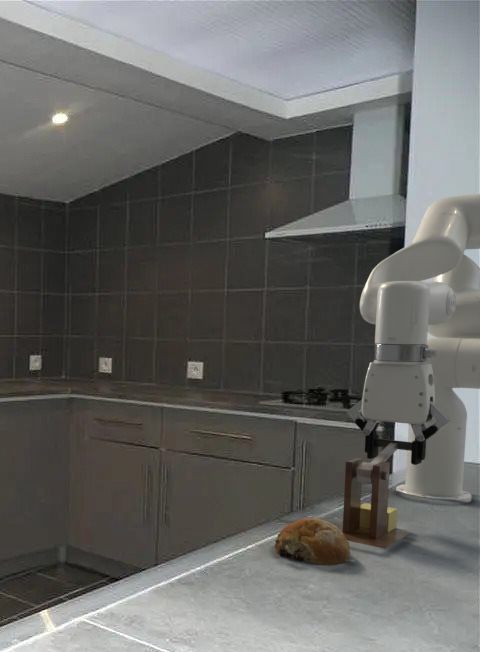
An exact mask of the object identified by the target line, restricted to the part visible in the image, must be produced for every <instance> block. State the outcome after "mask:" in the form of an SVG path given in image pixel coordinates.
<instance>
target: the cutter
mask: <svg viewBox="0 0 480 652" xmlns="http://www.w3.org/2000/svg"><path fill="white" fill-rule="evenodd" d="M362 462H364V459H363V458H360V457H355V458H352V459H349V460H346V461H345V470H344V472H345V473H344V495H343V512H342V513H343V514H342V521H340V522H338V523H336V524H334V525H335V526H337V528H338V529H340V530H341V532H342V533H343V534H344V536H345V538H346V539H347V541H348V542H352V543H357V544H362V545H367V546H371V547H376V548H381V549H384V550H385V549H387V548H389V547H390V546H392V545H393V544H395V543H398V541H400V540H402V539H403V538H404V539H405V537H407V536H408V535H410V534H412V532H411V531H408V530H407V531H406V530H402V529H397V528H395V529H393V530H391V531H390V532H386V526H387V507H389V506H388V505H389V485H390V469H391V464H390V463H391V462H390V461H385V462H384V461H383V462H381V463H378V464H375V465H373V475H372V484H371V497H370V504H371V514H370V529H368V528H363V527H359V525H360V505H362V503H361V502H362V484H363V483H361V482H357V472H356V468H357V467H358V466H359V465H360V464H361V463H362Z"/></svg>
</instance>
